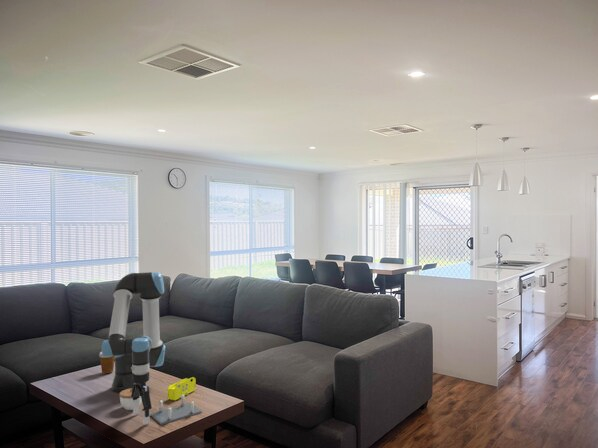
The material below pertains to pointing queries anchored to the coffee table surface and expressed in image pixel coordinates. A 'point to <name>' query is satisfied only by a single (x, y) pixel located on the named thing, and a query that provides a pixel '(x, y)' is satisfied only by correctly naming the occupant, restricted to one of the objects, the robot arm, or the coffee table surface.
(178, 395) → the yellow toy chassis
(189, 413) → the pin tray
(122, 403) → the lidded jar
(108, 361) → the disposable coffee cup
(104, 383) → the coffee table surface
